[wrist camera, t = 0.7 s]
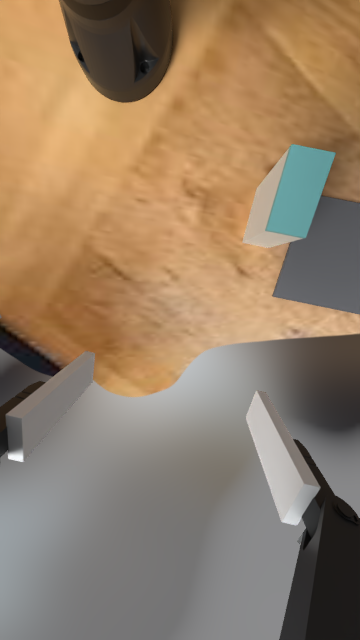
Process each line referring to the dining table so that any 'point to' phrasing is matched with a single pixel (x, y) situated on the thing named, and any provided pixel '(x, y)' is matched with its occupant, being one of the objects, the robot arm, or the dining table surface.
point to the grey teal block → (288, 197)
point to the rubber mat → (325, 259)
